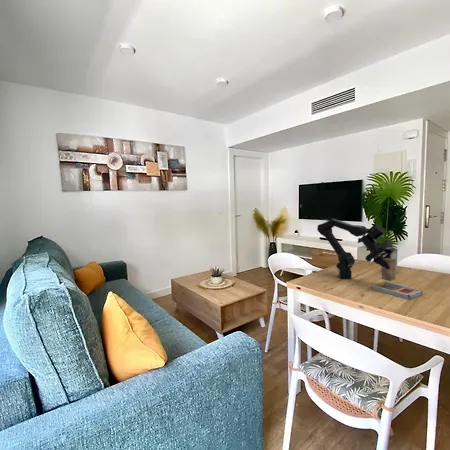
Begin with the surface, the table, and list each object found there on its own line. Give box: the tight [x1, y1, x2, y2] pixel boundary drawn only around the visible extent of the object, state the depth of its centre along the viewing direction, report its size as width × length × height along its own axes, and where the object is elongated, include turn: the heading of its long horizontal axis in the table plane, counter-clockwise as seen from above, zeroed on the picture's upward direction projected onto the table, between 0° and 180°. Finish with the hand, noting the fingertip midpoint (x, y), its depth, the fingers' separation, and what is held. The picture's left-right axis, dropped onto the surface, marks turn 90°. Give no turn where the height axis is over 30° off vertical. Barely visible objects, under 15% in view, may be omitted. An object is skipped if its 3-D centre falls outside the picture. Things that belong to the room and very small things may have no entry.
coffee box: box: [380, 246, 398, 275], centre depth 164 cm, size 9×6×16 cm
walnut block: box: [381, 258, 396, 282], centre depth 133 cm, size 4×4×11 cm
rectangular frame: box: [395, 287, 416, 295], centre depth 127 cm, size 6×9×2 cm, turn 119°
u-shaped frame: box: [372, 280, 423, 301], centre depth 131 cm, size 18×12×2 cm, turn 29°
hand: (391, 267), depth 132 cm, fingers closed on walnut block, 4 cm apart
